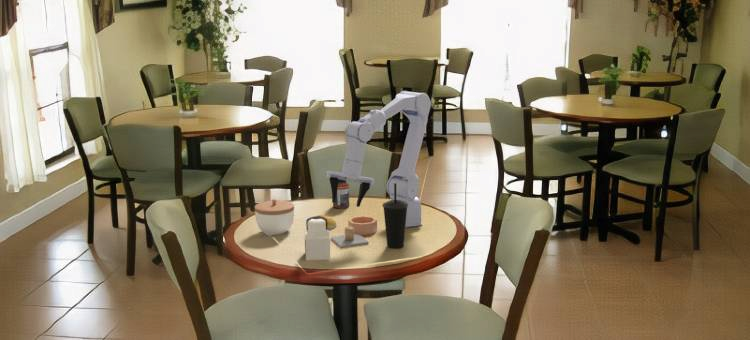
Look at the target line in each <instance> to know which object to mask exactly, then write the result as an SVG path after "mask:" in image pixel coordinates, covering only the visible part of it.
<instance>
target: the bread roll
mask: <svg viewBox="0 0 750 340" xmlns="http://www.w3.org/2000/svg"><path fill="white" fill-rule="evenodd" d="M317 216H320V217H324V218H326V219H327V230H328V231H330V230H333V229H335V228H336V227H337V222H336V220H335V219H334V218H332V217H329V216H327V215H323V214H319V215H317Z"/></svg>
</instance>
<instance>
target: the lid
mask: <svg viewBox="0 0 750 340" xmlns="http://www.w3.org/2000/svg"><path fill="white" fill-rule="evenodd" d="M363 237H364V236H363V235H359V234H358V233H357V234H354V228H353V227H348V226H345V227H344V235H337V236H336V235H335V236H331V237H330V238H331V240H332V241H333V242H334V243H336V244H337V245H338V246H339V247H340V248H345V247H352V246H359V245H366V244H369V242H370V241H369V240H367V239H366V238H365V237H364V238H365V239H364V238H363ZM368 241H369V242H368Z"/></svg>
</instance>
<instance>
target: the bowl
mask: <svg viewBox="0 0 750 340" xmlns="http://www.w3.org/2000/svg"><path fill="white" fill-rule="evenodd" d="M347 223H348V226H347V227H353V228H354V234H357V233H358V234H359V235H361V236H364V235H365V236H366V235H373V234H375V233H376V232H377V231H378V219H377V218H375V217H374V216H367V215H360V216H359V215H358V216H352V217H351V218H349V219H348V220H347Z"/></svg>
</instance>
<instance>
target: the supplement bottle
mask: <svg viewBox="0 0 750 340" xmlns="http://www.w3.org/2000/svg"><path fill="white" fill-rule="evenodd" d="M345 179H347V177H345ZM338 182H339V183H338V188H337V192H336V201H335V203H333V202H332V206H333V208H336V209H346V208H349V206H350V183H349V181H346V180H340V179H338Z"/></svg>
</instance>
